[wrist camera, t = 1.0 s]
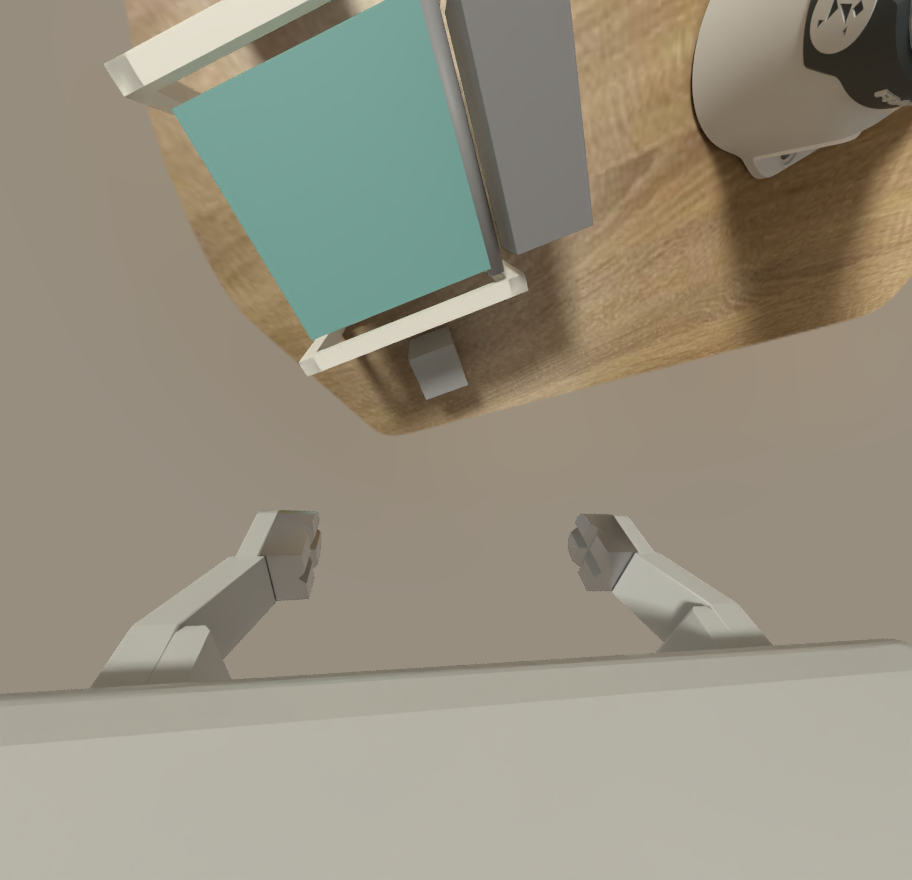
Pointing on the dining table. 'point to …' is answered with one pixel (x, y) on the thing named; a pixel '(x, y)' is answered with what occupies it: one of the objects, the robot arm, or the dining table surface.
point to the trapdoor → (400, 151)
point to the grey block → (436, 363)
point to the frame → (156, 84)
